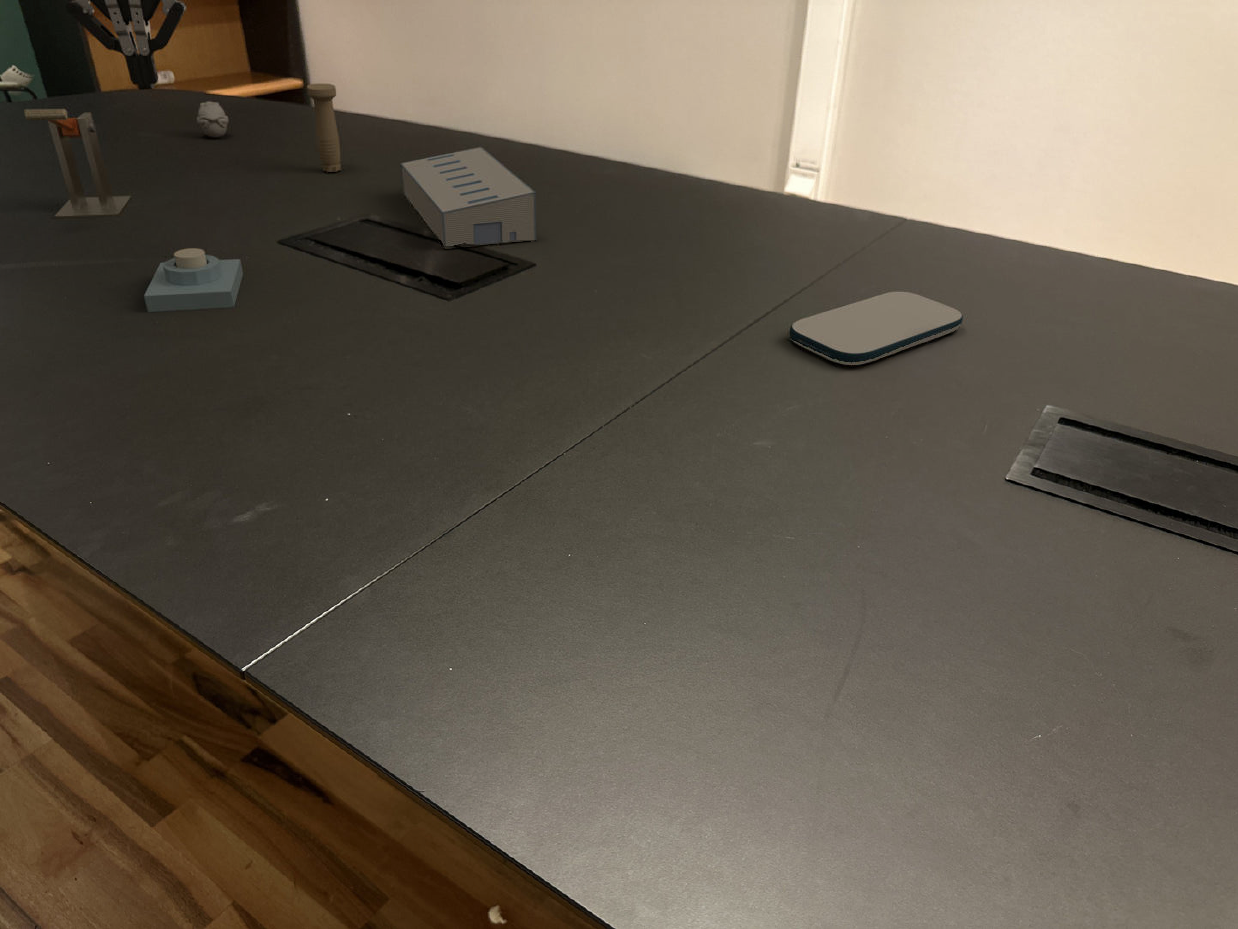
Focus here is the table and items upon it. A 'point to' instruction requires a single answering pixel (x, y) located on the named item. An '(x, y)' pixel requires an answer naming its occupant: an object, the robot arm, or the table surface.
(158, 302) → the button box
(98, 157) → the bracket
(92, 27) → the robot arm
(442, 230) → the warehouse
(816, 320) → the external hard drive
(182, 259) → the button
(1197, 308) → the table surface
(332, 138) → the handle
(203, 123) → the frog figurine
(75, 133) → the lever
